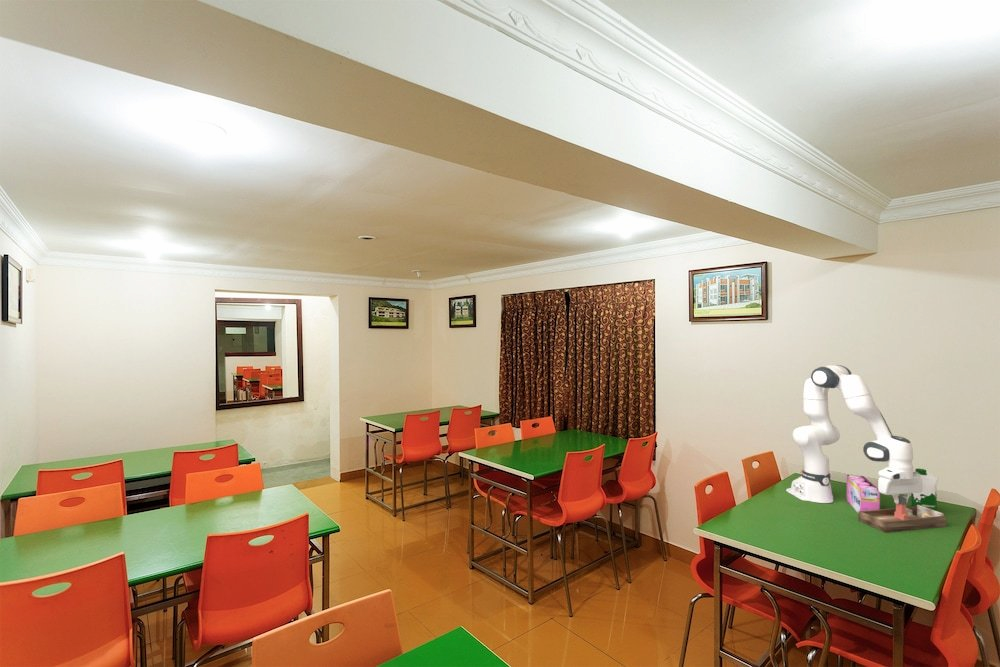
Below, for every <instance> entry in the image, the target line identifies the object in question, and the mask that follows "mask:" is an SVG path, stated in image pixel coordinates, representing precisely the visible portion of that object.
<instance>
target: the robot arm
mask: <svg viewBox="0 0 1000 667" xmlns="http://www.w3.org/2000/svg"><path fill="white" fill-rule="evenodd" d="M863 378H864V377H862V376H861V375H860V374H859V375H858V374H852V371H851V370H850V369H849V368H848V367H847V366H844V365H841V364H839V365H837V364H836V365H834V364H833V365H832V364H831V365H825V366H819V367H817V368H815V369H814V370H813V371H812V372H811V374H810V377H809V378H807V379H806V380H805V381H804V384H803V390H802V409H803V410H802V412H803V414H804V415H805V416H806V417H808V419H809V421H810V424H808V425H807V424H806V425H802V426H799V427H797V428H794V429H793V430H792V434H791V435H792V440H793V442H794V443H795V444H796V445H797V446H798V447H799V448H800V450H801V452H802V457H803V469H801V470H799V472H800V473H801V476H799V477H797V478H796V479H793V480H792V482H791V487H788V488H786V490H785V492H787V493H789V494H790V495H792V496H793V497H796V498H797V499H799V500H801V501H805V502H806V501H807V502H812V503H819V504H830V503H833V502H834V495H833V492H832V485H831V482H830V481H831V473H830V459H829V457H828V455H826V454H824V452H823V449H822V446H827V445H828V446H829V445H833V444H834V443H837V442H838V441H839V440H840V438H841V433H840V430H839V429H838V428H837V427H836V426H835V424H833V422H832V419H831V417H830V414H829V396H828V395H829V394H828V392H829V390H830V389H835V388H836V389H838V390H839V391H840V392H841V394H842V397H843V400H844V403H845V405H846V407H847V409H848V410H849V411H850V412H851V413H852V414H854V415H856V416H859V417H861V418H863V419H865V421H867V422H868V423H869V424H870V427H871V429H872V431H873V433H874V435H875V437H876V440H870V441H868V442H865V444H864V445H863V453H864V456H865V457H866V458H867V459H868V460H870V461H872V462H876V463H877V462H878V463H879V462H885V463H887V466H886V467H885V468H883V469H880V470H879V471H878V473H877V474H878V476H879V478H878V480H877V482H878V484H877V488H878V490H879V492H880V494H882V495H885V496H892V498H893V502H894V503H895V504H896V503H897V504H899V503H901V502H900V501H901V500H899V499H898V496H900V495H903V496H902V497H903V498H906V499H907V504H908V502H909V499H910V497H911V493H919V492H922V490H923V486H922V480H921V478H920V474H919V473H918V472H915V471H914V465H913V459H914V451H913V444H912V442H911V441H910V439H908V438H906V437H903V436H898V435H893V433H892V431H891V429H890V428H889V426H888V423H887V422H886V420H885V418H884V415H883V414H882V412H881V411H880V409H879V408H878V406H877V404H876V402H875V400H874V398H873V396H872V393H871V391H870V389H869V387H868V385H867V382H865V379H863Z"/></svg>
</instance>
